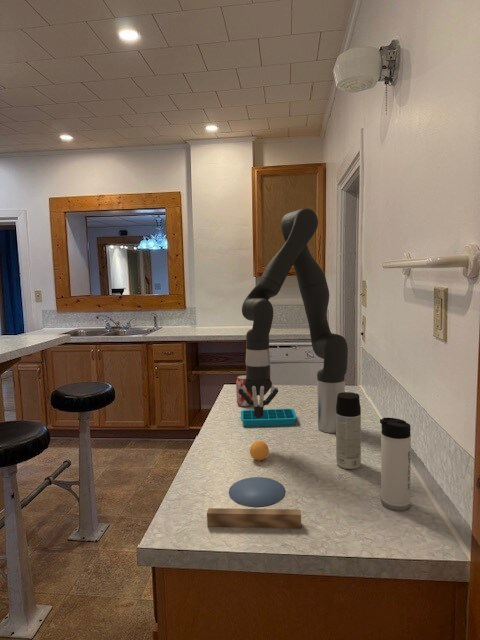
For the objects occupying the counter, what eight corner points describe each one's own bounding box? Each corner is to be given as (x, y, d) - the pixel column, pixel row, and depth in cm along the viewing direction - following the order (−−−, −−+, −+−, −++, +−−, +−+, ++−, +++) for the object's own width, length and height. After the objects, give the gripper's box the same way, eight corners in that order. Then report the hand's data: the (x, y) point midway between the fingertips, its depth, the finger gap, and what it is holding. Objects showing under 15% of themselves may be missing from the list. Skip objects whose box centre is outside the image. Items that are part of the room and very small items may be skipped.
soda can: (252, 407, 170) (251, 378, 169) (235, 407, 171) (234, 378, 170) (254, 402, 177) (254, 374, 176) (238, 402, 178) (237, 374, 177)
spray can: (361, 460, 118) (361, 392, 116) (360, 471, 111) (359, 399, 110) (337, 458, 120) (336, 391, 118) (335, 468, 114) (334, 397, 112)
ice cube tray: (241, 417, 159) (240, 410, 159) (293, 415, 159) (293, 408, 159) (241, 428, 148) (240, 420, 147) (297, 426, 148) (297, 418, 147)
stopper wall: (300, 522, 89) (300, 509, 89) (301, 528, 87) (300, 514, 87) (208, 521, 91) (208, 508, 91) (207, 526, 89) (206, 513, 89)
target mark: (284, 478, 109) (284, 477, 109) (285, 507, 96) (285, 506, 96) (231, 477, 111) (231, 476, 111) (225, 506, 97) (225, 505, 97)
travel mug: (375, 497, 98) (375, 415, 96) (402, 495, 99) (402, 414, 97) (386, 512, 92) (387, 425, 90) (415, 510, 92) (416, 423, 90)
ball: (269, 455, 123) (268, 437, 123) (268, 464, 118) (268, 445, 117) (250, 455, 124) (250, 437, 123) (249, 463, 118) (249, 445, 118)
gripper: (279, 360, 131) (279, 414, 133) (237, 360, 132) (238, 413, 134) (279, 365, 123) (280, 422, 125) (235, 365, 125) (236, 421, 126)
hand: (258, 417), depth 129 cm, fingers closed
